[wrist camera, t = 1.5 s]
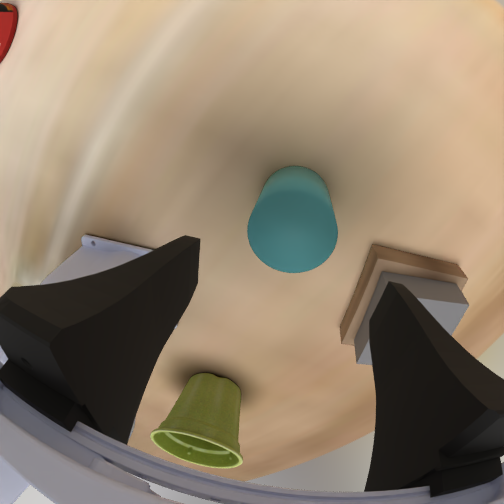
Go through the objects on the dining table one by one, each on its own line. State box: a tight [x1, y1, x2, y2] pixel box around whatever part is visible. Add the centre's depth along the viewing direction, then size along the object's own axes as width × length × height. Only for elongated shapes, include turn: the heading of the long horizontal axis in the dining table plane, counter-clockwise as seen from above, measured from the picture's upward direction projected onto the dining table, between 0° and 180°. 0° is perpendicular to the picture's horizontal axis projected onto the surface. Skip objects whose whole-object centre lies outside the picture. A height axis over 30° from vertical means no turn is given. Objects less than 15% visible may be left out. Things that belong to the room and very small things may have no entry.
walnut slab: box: [340, 244, 468, 346], centre depth 20 cm, size 8×8×2 cm
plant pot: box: [150, 373, 243, 468], centre depth 27 cm, size 9×9×9 cm
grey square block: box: [354, 271, 469, 365], centre depth 18 cm, size 6×6×2 cm
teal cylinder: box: [247, 166, 338, 273], centre depth 16 cm, size 4×4×6 cm
